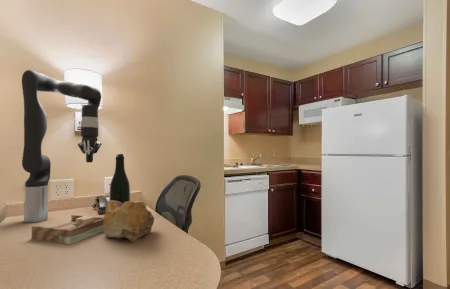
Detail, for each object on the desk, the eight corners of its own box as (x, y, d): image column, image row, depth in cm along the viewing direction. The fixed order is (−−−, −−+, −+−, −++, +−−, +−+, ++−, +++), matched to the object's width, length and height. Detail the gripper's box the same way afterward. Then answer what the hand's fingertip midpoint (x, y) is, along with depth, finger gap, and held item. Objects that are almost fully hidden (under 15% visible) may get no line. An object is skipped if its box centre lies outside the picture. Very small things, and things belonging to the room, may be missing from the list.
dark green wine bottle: (133, 214, 131) (133, 153, 132) (114, 218, 123) (114, 153, 124) (124, 211, 137) (124, 153, 139) (105, 215, 130) (106, 154, 131)
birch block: (75, 230, 96) (75, 218, 97) (85, 226, 101) (85, 216, 101) (84, 231, 95) (84, 219, 95) (93, 227, 99) (93, 216, 99)
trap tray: (31, 239, 94) (31, 226, 94) (73, 225, 111) (73, 214, 111) (69, 244, 88) (70, 230, 88) (107, 229, 105) (107, 217, 105)
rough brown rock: (168, 238, 95) (169, 199, 97) (129, 247, 82) (132, 203, 84) (135, 229, 110) (137, 195, 112) (98, 236, 97) (101, 198, 99)
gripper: (72, 126, 116) (72, 162, 116) (93, 125, 112) (93, 162, 111) (85, 128, 123) (85, 162, 123) (106, 127, 119) (106, 162, 119)
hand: (89, 162), depth 117 cm, fingers closed
